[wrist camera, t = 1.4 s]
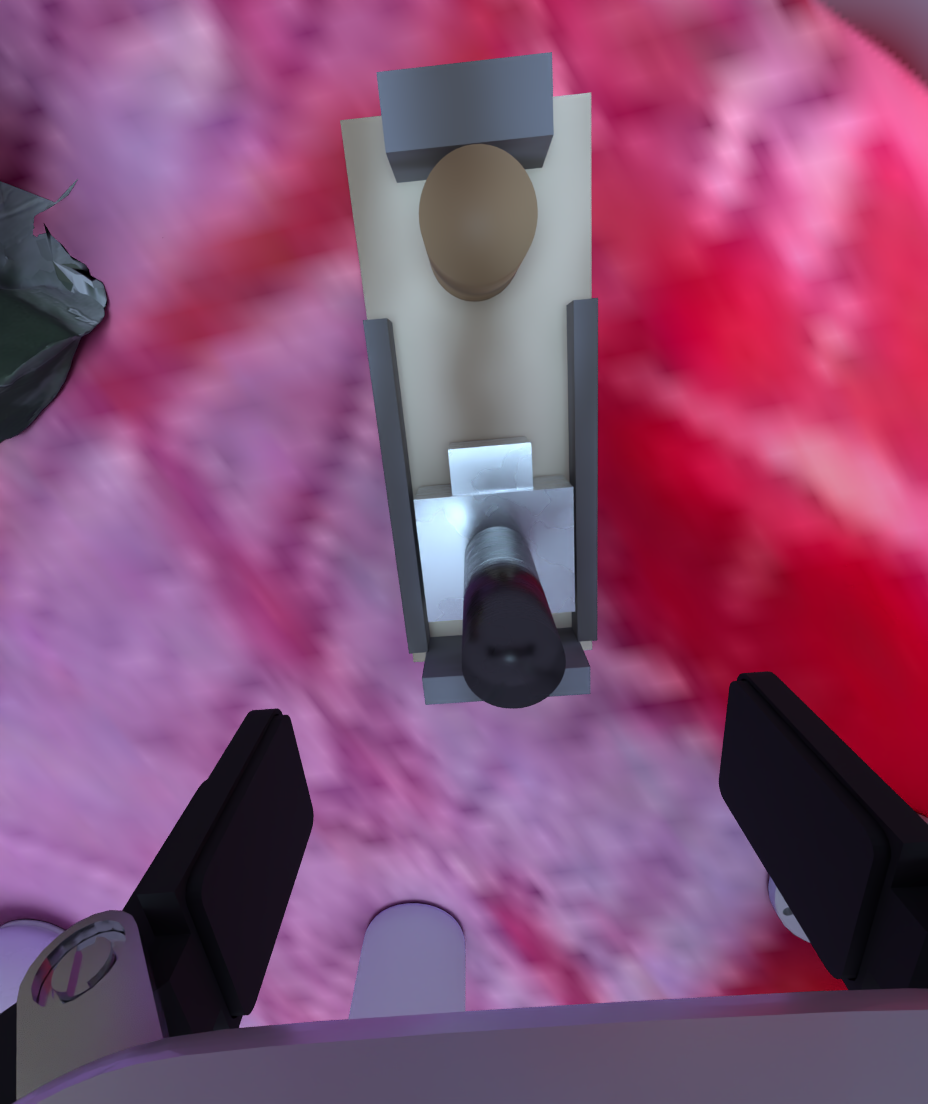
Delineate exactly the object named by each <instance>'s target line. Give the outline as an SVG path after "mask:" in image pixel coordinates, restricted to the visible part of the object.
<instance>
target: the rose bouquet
mask: <svg viewBox="0 0 928 1104" xmlns="http://www.w3.org/2000/svg"><path fill="white" fill-rule="evenodd" d="M77 180H78V179H77ZM77 180H76V181H77ZM76 181H75V182H74V183H73V184H72V185H71V187H70V188H69V189H68V190H67V191H66V192H65V193H64V194H63V195H62V196H61V197H60V198H59V199H58V200H57V202H56V203H58V202H59V201H60V200H62V199H63V198H65V197H66V196H68V194H69V193H70V191H71V189H72V188H73V186H74V185H75V183H76ZM56 203H55V202H52V201H50V200H47V199H45V198H42V197H39V196H37V195H34V194H32V193H29V192H27V191H24V190H21V189H19V188H16V187H14V186H11V185H9V184H6V183H3V182H1V181H0V442H1V441H3V440H5V439H8V438H12V437H14V436H16V435H18V434H19V433H21V432H22V431H23V430H25V429H26V428H27V427H28V426H29V425H30V424H31V423H32V421H33V420H34V419H35V418H36V417H37V416H38V415H39V413H40V412H41V411H42V409H44V408H45V407H46V406H47V405H48V404H49V403H50V402H51V401H52V400H53V399H54V397H55V396H56V395H57V393H58V392H59V390H60V388H61V386H62V385H63V384H64V382H65V380H66V377H67V374H68V372H69V370H70V367H71V363H72V359H73V356H74V354H75V352H76V349H77V347H78V344H79V341H80V339H81V337H83V336H84V335H86V334H88V333H90V332H91V331H92V330H93V329H94V328H95V327H96V326H97V325H98V324H99V323H100V322H101V321H102V320H103V318H104V308H105V307H106V305H107V298H106V293H105V289H104V286H103V283H102V282H100V281H99V280H97V279H95V278H94V277H92V276H90V273H89V269H88V268H87V267H86V265H85V264H83V263H81V262H80V261H78V260H76V259H75V258H73V257H71V256H70V255H69V254H68V252H67V251H66V249H65V248H64V246H63V245H62V244H60V243H59V242H58V241H57V240H56V239H55V238H54V237H52V236H51V234H50V232H49V231H48V229H47V227H46V226H45V224H44V226H45V230H46V233H44V234H39V235H38V237H36V236H34V235H33V229H34V225H33V223H34V217H35V215H37V214H39V213H40V212H43V211H45V210H47V209H48V208H50V207H52V206H53V205H55V204H56Z"/></svg>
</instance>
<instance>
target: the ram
mask: <svg viewBox="0 0 928 1104" xmlns="http://www.w3.org/2000/svg"><path fill="white" fill-rule="evenodd" d="M448 456H449V466H450V477H451V484H447V485H435V486H423V487H419V489H418V491H417V493H416V495H415V498H414V509H415V517H416V525H417V533H418V542H419V550H420V558H421V566H422V575H423V583H424V591H425V599H426V608H427V616H428V622H437V621H451V620H463V630H462V672H463V676H464V679H465V681H466V683H467V685H468V687H469V688H470V689H471V691H472V692H473V693H474V694H475V695H476V696H478V697H479V698H480V699H482V700H483V701H485V702H487V703H489V704H491V705H494V706H497V707H502V708H523V707H527V706H531V705H534V704H536V703H538V702H540V701H542V700H544V699H545V698H547V697H548V696H549V695H550V694H552V693H553V691H554V690H555V689H556V688H557V687H558V685H559V684H560V682H561V680H562V678H563V675H564V673H565V668H566V656H565V652H564V648H563V645H562V642H561V639H560V637H559V634H558V631H557V628H556V625H555V622H554V619H553V616H552V613H562V612H575V566H574V495H573V486H572V485H571V484H570V483H569V482H568V481H567V480H566V479H565V477H564V476H563V475H556V476H544V477H533V474H532V449H531V442H530V441H529V440H528V439H527V437H526V436H522V437H511V438H499V439H487V440H476V441H464V442H452V443H450V444H449V448H448Z"/></svg>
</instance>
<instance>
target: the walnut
mask: <svg viewBox="0 0 928 1104" xmlns="http://www.w3.org/2000/svg"><path fill="white" fill-rule="evenodd" d="M537 220H538V207H537V199H536V194H535V190H534V187H533V184H532V182H531V180H530V178H529V176H528V174H527V172H526V171H525V169H524V168H523V166H522V165H521V164H520V163H519V162H518V161H517V160H516V159H515V158H514V157H513V156H512V155H510V154H509V153H507V152H506V151H504V150H502V149H500V148H498V147H495V146H491V145H486V144H471V145H466V146H463V147H460V148H457V149H455V150H454V151H452V152H450V153H449V154H447V155H446V156H445V157H443V158H442V159H441V160H440V161H439V162H438V163H437V164H436V166H435V167H434V168H433V169H432V171H431V172H430V174H429V176H428V178H427V180H426V182H425V184H424V187H423V190H422V193H421V197H420V203H419V225H420V231H421V235H422V238H423V242H424V245H425V248H426V252H427V255H428V258H429V262H430V265H431V268H432V271H433V273H434V275H435V277H436V279H437V281H438V282H439V283H440V285H441V286H442V287H443V288H444V289H445V290H446V291H447V292H449V293H450V294H451V295H453V296H455V297H457V298H459V299H461V300H465V301H472V302H477V301H484V300H487V299H490V298H492V297H494V296H496V295H498V294H499V293H501V292H502V291H503V290H504V289H505V288H506V287H507V286H508V285H509V284H510V282H511V281H512V279H513V278H514V276H515V274H516V272H517V270H518V269H519V267H520V265H521V263H522V261H523V259H524V257H525V256H526V254H527V252H528V250H529V248H530V246H531V244H532V241H533V239H534V236H535V232H536V227H537Z"/></svg>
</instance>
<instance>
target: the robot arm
mask: <svg viewBox="0 0 928 1104" xmlns="http://www.w3.org/2000/svg"><path fill="white" fill-rule="evenodd" d="M719 788H720V792H721V795H722V797H723V799H724V801H725V803H726V804H727V806H728V808H729V809H730V811H731V813H732V814H733V816H734V818H735V819H736V821H737V822H738V824H739V826H740V827H741V829H742V831H743V832H744V834H745V836H746V837H747V839H748V841H749V842H750V844H751V846H752V847H753V849H754V850H755V852H756V854H757V855H758V857H759V859H760V860H761V862H762V864H763V865H764V867H765V869H766V870H767V872H768V874H769V875H770V878H769V885H768V890H769V897H770V901H771V903H772V905H773V908H774V910H775V911H776V913H777V915H778V916H779V918H780V920H781V921H782V923H783V924H784V926H785V927H786V928H787V929H788V930H790V931H791V932H792V933H793V934H794V935H796V936H798V937H799V938H801V939H803V940H804V941H807V942H810V943H811V944H812V946H813V948H814V949H815V951H816V953H817V954H818V956H819V958H820V959H821V961H822V962H823V964H824V966H825V967H826V969H827V970H828V972H829V973H830V974H831V975H832V976H833V977H834V978H836V979H842V980H843V982H844V983H845V985H846V987H847V988H848V990H843V991H814V992H792V993H774V994H755V995H737V996H718V997H700V998H682V999H663V1000H645V1001H629V1002H612V1003H595V1004H578V1005H561V1006H545V1007H529V1008H512V1009H496V1010H480V1011H464V1012H449V1013H434V1014H419V1015H404V1016H389V1017H374V1018H359V1019H344V1020H329V1021H315V1022H304V1023H292V1024H281V1025H269V1026H258V1027H246V1028H239V1025H240V1022H241V1019H242V1016H243V1015H249V1014H250V1013H251V1012H252V1010H253V1008H254V1006H255V1003H256V1000H257V997H258V994H259V991H260V988H261V985H262V982H263V979H264V976H265V972H266V969H267V966H268V963H269V960H270V957H271V954H272V951H273V948H274V944H275V941H276V938H277V935H278V932H279V929H280V926H281V923H282V920H283V917H284V913H285V910H286V907H287V904H288V901H289V898H290V895H291V892H292V889H293V886H294V882H295V879H296V876H297V873H298V870H299V867H300V864H301V861H302V858H303V855H304V851H305V848H306V845H307V842H308V839H309V836H310V833H311V830H312V826H313V807H312V803H311V799H310V795H309V791H308V787H307V783H306V779H305V775H304V771H303V767H302V763H301V759H300V755H299V751H298V747H297V743H296V739H295V735H294V731H293V727H292V723H291V719H290V717H289V716H288V715H282V712H281V711H280V709H264V710H252V711H250V712H249V713H248V714H247V716H246V717H245V719H244V721H243V722H242V724H241V726H240V727H239V729H238V730H237V732H236V734H235V735H234V737H233V739H232V740H231V742H230V743H229V745H228V747H227V748H226V750H225V752H224V753H223V755H222V757H221V758H220V760H219V761H218V763H217V765H216V766H215V768H214V770H213V771H212V773H211V774H210V776H209V778H208V779H207V780H206V781H204V782H203V783H202V784H201V786H200V787H199V788H198V790H197V791H196V793H195V794H194V796H193V798H192V799H191V801H190V803H189V804H188V806H187V807H186V809H185V811H184V812H183V814H182V815H181V817H180V819H179V820H178V822H177V823H176V825H175V827H174V828H173V830H172V831H171V833H170V835H169V836H168V838H167V839H166V841H165V843H164V844H163V846H162V847H161V849H160V851H159V852H158V854H157V856H156V857H155V859H154V860H153V862H152V864H151V865H150V867H149V868H148V870H147V872H146V873H145V875H144V876H143V878H142V880H141V881H140V883H139V884H138V886H137V888H136V889H135V891H134V892H133V894H132V896H131V897H130V899H129V900H128V902H127V904H126V905H125V907H124V909H123V910H122V911H116V910H109V911H105V912H101V913H98V914H94V915H92V916H90V917H88V918H86V919H84V920H81V921H79V922H77V923H76V924H74V925H73V926H71V927H70V928H68V929H67V930H66V931H64V932H63V933H61V934H60V935H59V936H57V937H56V938H55V939H54V940H53V941H52V942H51V943H50V944H49V945H48V946H47V947H46V948H45V949H44V950H43V951H42V952H41V953H40V954H39V956H38V957H37V958H36V959H35V961H34V962H33V963H32V964H31V966H30V967H29V969H28V971H27V972H26V974H25V976H24V978H23V980H22V982H21V984H20V987H19V992H18V997H17V1002H16V1003H15V1004H13V1005H12V1006H10V1007H9V1008H8V1009H6V1010H5V1011H3V1012H2V1013H0V1104H928V818H927V817H925V816H922V815H920V814H918V813H916V812H915V811H914V810H913V809H912V808H911V807H910V806H909V805H908V804H907V803H906V802H905V801H904V800H903V799H902V798H901V797H900V796H899V795H897V794H896V793H895V792H894V791H893V790H892V789H891V788H890V787H889V786H888V785H887V784H886V783H885V782H884V781H883V780H882V779H881V778H880V777H879V776H878V775H877V774H876V773H875V772H874V771H873V770H872V769H871V768H870V767H869V766H868V765H867V764H866V763H865V762H864V761H863V760H862V759H861V758H860V757H859V756H858V755H857V754H856V753H855V752H854V751H853V750H852V749H851V748H849V747H848V746H847V745H846V744H845V743H844V742H843V741H842V740H841V739H840V738H839V737H838V736H837V735H836V734H835V733H834V732H833V731H832V730H831V729H830V728H829V727H828V726H827V725H826V724H825V723H824V722H823V721H822V720H821V719H820V718H819V717H818V716H817V715H816V714H815V713H814V712H813V711H812V710H811V709H810V708H809V707H808V706H807V705H806V704H805V703H804V702H803V701H802V700H800V699H799V698H798V697H797V696H796V695H795V694H794V693H793V692H792V691H791V690H790V689H789V688H788V687H787V686H786V685H785V684H784V683H783V682H782V681H781V680H780V679H779V678H778V677H777V676H776V675H775V674H773V673H772V672H768V671H767V672H754V673H742V674H740V675H739V676H738V678H737V681H733V682H731V684H730V687H729V696H728V704H727V713H726V722H725V731H724V739H723V748H722V757H721V766H720V774H719Z"/></svg>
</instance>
